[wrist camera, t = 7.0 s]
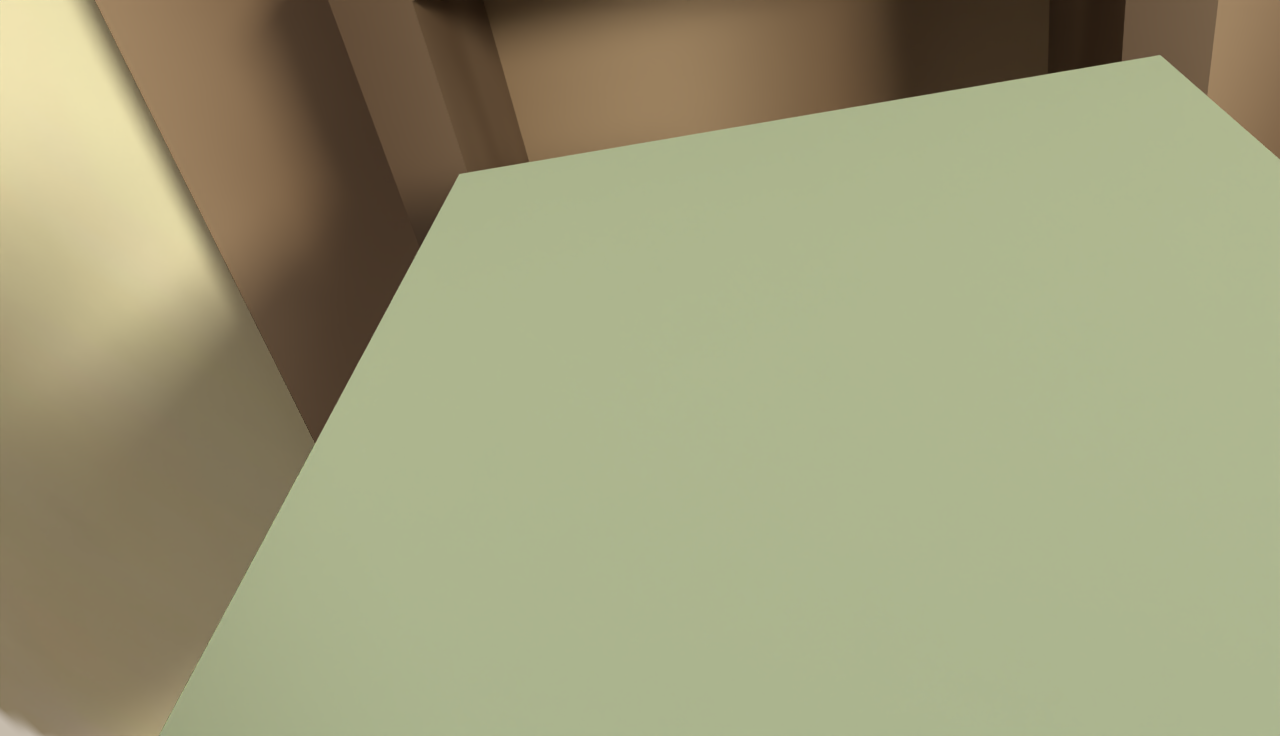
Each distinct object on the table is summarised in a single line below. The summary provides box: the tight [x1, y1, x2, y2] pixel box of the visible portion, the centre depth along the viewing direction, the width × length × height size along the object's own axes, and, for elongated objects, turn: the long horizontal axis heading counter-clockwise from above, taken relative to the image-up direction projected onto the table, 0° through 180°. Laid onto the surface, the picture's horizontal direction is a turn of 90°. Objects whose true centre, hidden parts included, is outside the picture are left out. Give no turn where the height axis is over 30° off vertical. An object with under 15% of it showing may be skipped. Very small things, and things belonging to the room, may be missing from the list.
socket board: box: [95, 0, 1280, 443], centre depth 15 cm, size 16×24×4 cm, turn 12°
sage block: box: [159, 55, 1280, 736], centre depth 6 cm, size 5×5×6 cm
